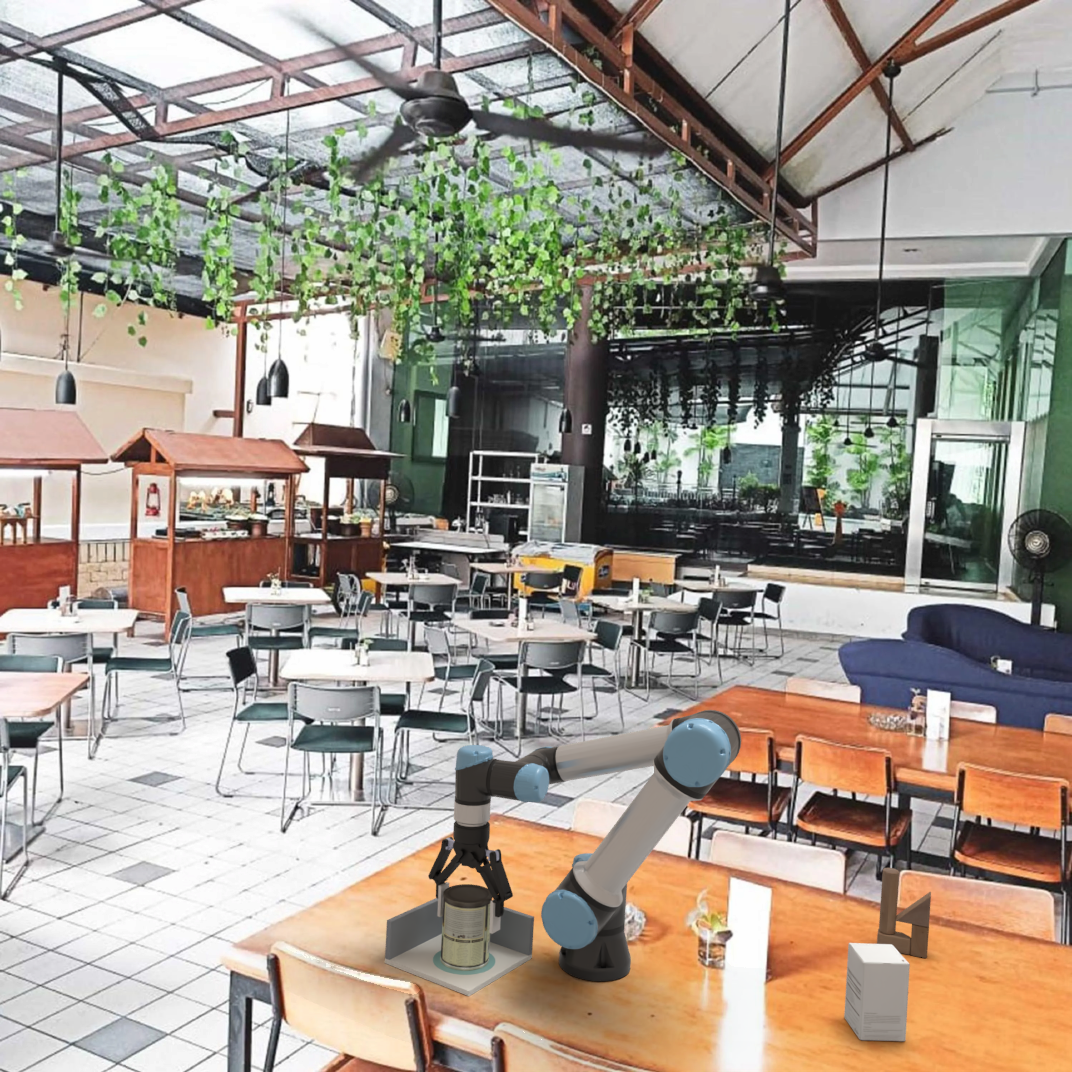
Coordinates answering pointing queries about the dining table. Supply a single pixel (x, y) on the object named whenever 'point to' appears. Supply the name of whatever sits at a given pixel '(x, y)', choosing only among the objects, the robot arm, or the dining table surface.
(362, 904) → the dining table surface
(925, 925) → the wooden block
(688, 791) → the robot arm
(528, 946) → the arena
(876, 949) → the supplement box
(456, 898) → the coffee can
